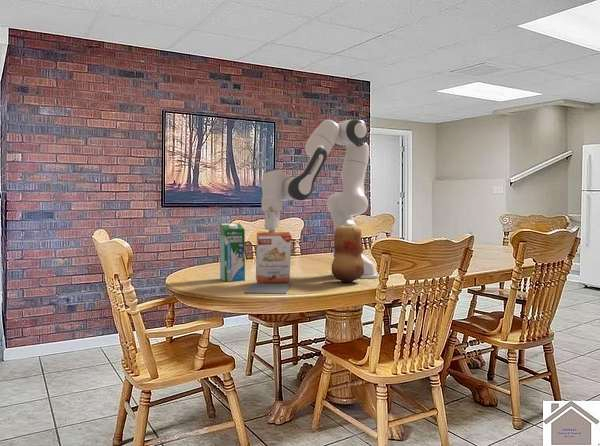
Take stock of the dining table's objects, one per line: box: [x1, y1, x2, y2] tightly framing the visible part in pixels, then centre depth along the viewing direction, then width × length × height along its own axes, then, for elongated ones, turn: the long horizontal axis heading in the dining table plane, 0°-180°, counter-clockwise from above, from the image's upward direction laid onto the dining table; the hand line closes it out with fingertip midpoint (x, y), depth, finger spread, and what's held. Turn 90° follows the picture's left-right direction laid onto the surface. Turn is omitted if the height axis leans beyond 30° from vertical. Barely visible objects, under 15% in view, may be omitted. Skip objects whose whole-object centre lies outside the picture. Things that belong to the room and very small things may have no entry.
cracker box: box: [255, 231, 292, 283], centre depth 209 cm, size 14×6×21 cm, turn 101°
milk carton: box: [219, 222, 246, 282], centre depth 220 cm, size 9×9×25 cm
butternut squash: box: [331, 223, 364, 283], centre depth 212 cm, size 14×13×25 cm
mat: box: [243, 282, 291, 295], centre depth 198 cm, size 16×21×1 cm
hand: (271, 239), depth 211 cm, fingers closed
